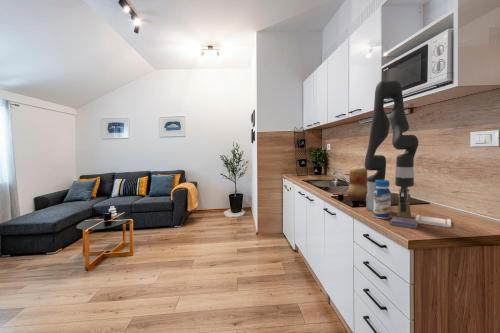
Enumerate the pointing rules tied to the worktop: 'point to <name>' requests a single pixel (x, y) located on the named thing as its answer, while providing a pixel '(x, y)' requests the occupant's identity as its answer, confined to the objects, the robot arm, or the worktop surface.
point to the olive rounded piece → (408, 211)
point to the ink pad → (404, 222)
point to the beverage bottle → (382, 199)
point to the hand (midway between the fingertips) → (403, 211)
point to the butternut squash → (357, 183)
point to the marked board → (433, 221)
